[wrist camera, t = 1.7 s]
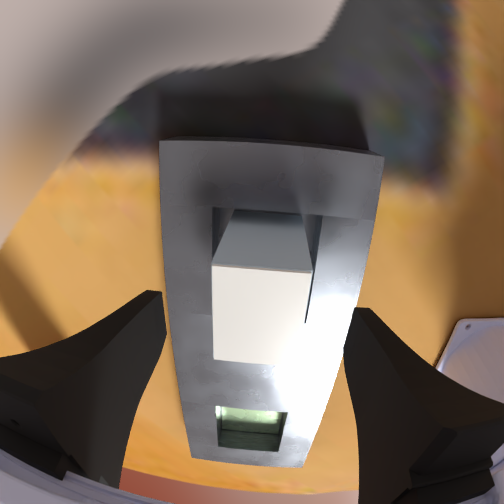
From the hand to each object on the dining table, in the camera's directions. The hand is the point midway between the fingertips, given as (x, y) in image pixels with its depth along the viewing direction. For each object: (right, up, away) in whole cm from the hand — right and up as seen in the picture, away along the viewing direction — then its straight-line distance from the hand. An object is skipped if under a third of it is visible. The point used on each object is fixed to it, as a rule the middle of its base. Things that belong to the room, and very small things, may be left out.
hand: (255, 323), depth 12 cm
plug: (+1, +3, +6) cm, 6 cm away
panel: (0, -4, +9) cm, 10 cm away
